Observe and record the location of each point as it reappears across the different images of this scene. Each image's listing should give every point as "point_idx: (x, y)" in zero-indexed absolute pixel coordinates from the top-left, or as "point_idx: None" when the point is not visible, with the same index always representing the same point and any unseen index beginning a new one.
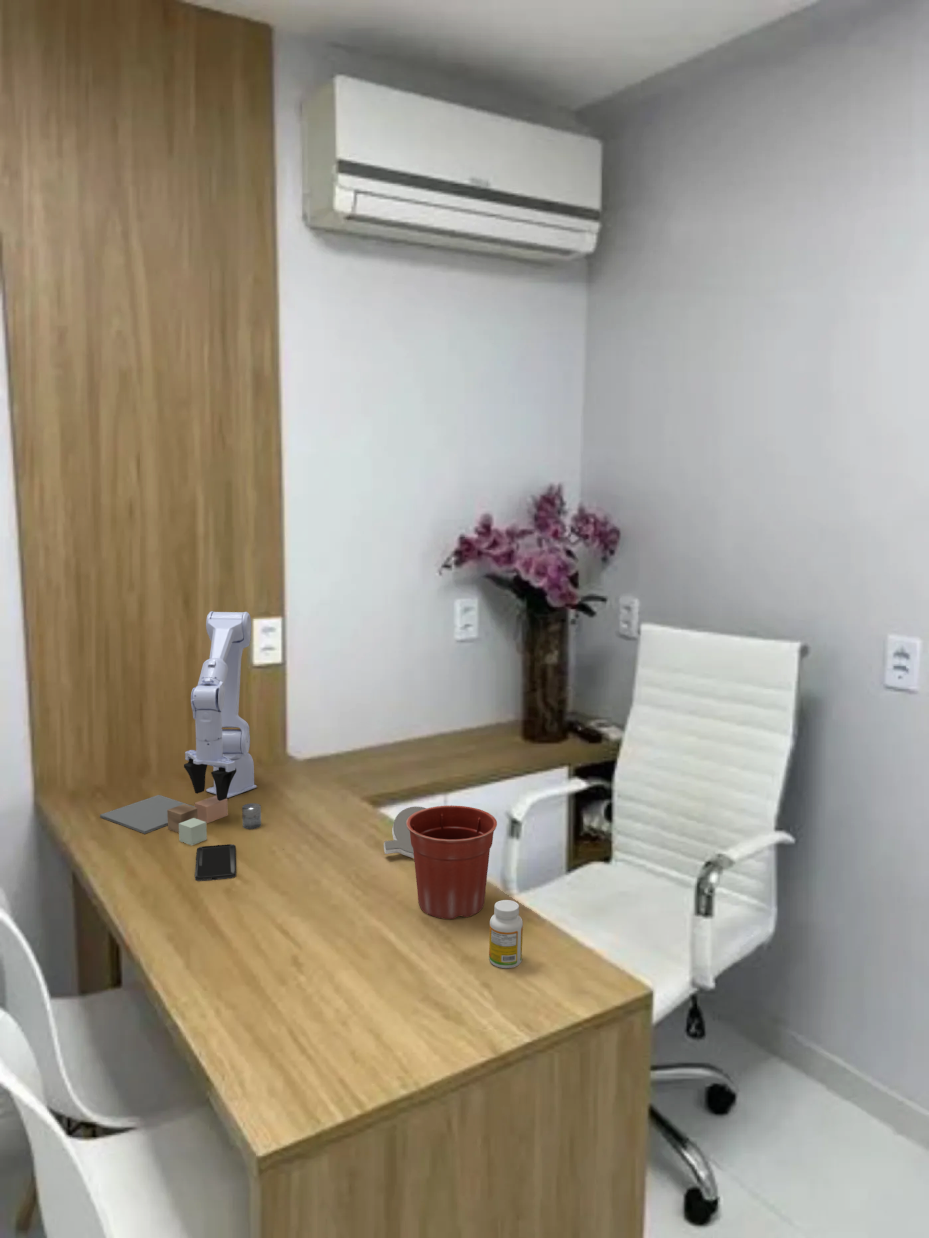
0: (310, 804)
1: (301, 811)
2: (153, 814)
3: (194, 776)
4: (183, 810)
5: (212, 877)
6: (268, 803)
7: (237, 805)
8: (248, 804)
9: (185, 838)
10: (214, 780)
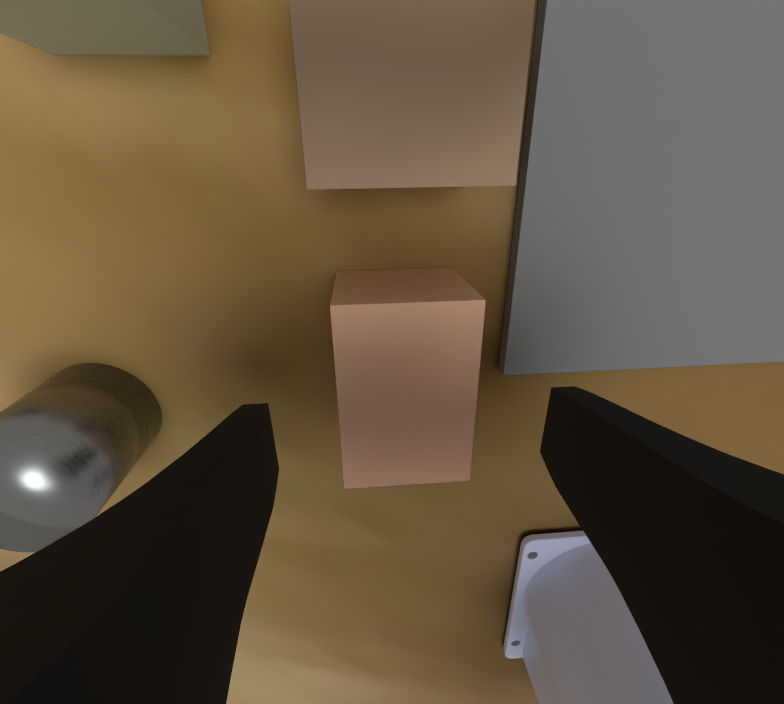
0: None
1: None
2: (747, 104)
3: (689, 497)
4: (368, 34)
5: None
6: (322, 598)
7: (417, 515)
8: (71, 509)
9: None
10: (143, 557)
